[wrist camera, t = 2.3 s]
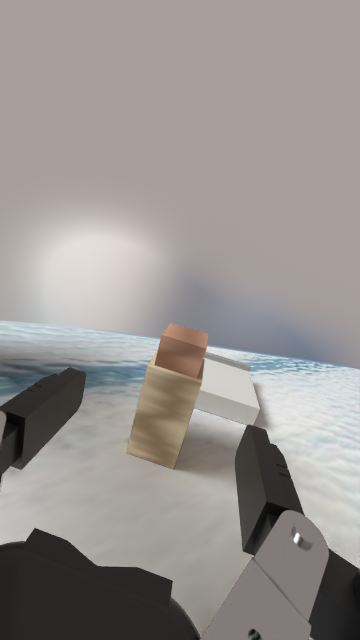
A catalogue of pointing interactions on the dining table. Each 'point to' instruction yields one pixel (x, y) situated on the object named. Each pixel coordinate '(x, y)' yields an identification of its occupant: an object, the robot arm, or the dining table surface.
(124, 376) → the dining table surface
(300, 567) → the robot arm
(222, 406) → the dock
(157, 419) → the beige tall block
